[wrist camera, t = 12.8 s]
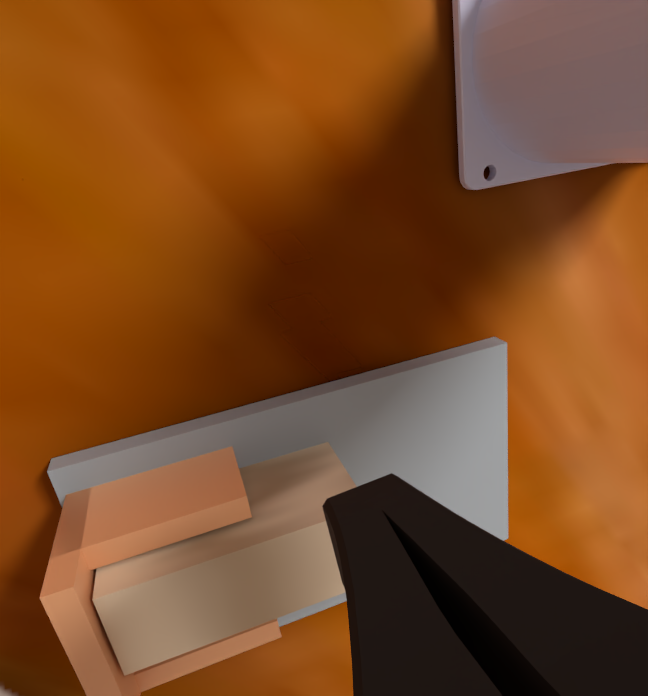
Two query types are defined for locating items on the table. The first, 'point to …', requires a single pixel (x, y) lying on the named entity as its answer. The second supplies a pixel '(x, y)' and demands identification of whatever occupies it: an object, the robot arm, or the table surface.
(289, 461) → the beige rectangular block
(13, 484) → the table surface
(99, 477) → the board
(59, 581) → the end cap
